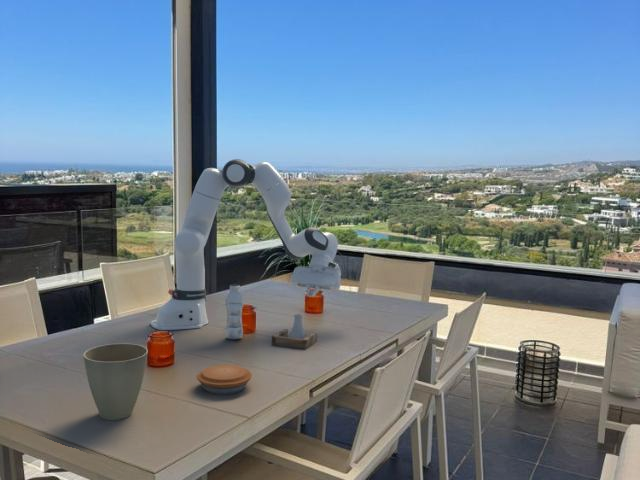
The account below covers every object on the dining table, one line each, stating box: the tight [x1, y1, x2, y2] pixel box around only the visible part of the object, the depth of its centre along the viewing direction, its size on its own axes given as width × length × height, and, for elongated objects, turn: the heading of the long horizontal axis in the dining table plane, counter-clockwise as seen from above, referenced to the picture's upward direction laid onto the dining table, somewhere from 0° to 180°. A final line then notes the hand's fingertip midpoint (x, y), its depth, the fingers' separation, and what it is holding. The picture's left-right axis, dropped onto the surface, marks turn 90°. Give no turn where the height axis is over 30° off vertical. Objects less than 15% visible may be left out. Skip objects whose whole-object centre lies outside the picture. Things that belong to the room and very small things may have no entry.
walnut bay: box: [271, 328, 318, 350], centre depth 211 cm, size 12×13×3 cm
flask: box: [288, 313, 307, 339], centre depth 213 cm, size 7×7×10 cm
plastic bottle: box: [224, 284, 244, 340], centre depth 213 cm, size 6×7×20 cm
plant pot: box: [83, 342, 149, 421], centre depth 143 cm, size 15×15×16 cm
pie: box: [196, 364, 253, 395], centre depth 164 cm, size 15×16×5 cm
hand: (310, 295), depth 225 cm, fingers closed
